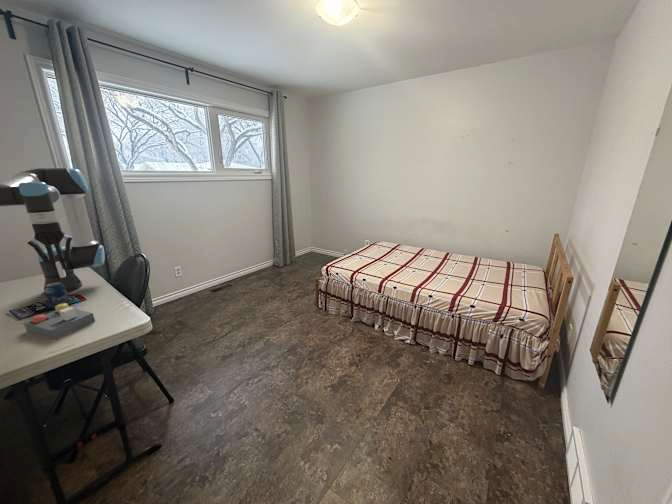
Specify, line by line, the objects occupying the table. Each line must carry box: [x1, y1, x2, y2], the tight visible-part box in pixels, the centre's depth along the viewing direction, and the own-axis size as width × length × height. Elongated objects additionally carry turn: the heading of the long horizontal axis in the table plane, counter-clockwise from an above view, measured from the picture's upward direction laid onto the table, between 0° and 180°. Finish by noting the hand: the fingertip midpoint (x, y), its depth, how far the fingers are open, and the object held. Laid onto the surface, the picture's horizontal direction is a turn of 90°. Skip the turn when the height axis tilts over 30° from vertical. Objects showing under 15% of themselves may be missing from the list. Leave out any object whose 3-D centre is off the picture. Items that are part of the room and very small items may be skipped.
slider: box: [59, 306, 77, 321], centre depth 112 cm, size 3×4×4 cm
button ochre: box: [54, 303, 70, 314], centre depth 118 cm, size 4×4×3 cm
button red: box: [30, 313, 47, 324], centre depth 111 cm, size 4×4×3 cm
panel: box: [23, 308, 96, 340], centre depth 113 cm, size 18×14×4 cm
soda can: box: [43, 282, 71, 310], centre depth 129 cm, size 7×7×12 cm
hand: (63, 276), depth 114 cm, fingers closed
